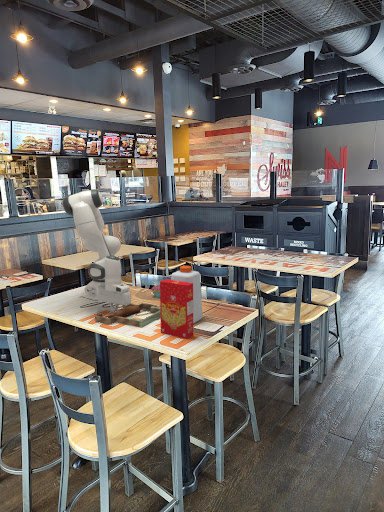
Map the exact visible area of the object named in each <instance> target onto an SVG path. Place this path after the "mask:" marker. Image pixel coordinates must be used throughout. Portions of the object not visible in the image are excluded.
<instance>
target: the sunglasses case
mask: <svg viewBox="0 0 384 512" xmlns="http://www.w3.org/2000/svg"><path fill="white" fill-rule="evenodd" d="M140 312H141V310H140V308H139V307H138V306H130V307H126V308H120V309H117V311H113V312H112V313H109V314H108V315H106V316H105V318H106V317H108V318H112V317H114V316H119V317H125V316H126V317H127V316H129V315H133V314H136V313H140Z"/></svg>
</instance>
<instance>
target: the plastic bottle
mask: <svg viewBox="0 0 384 512" xmlns="http://www.w3.org/2000/svg"><path fill="white" fill-rule="evenodd" d="M170 280H176V281H182V282H189V283H193V325H194V324H195V323H197V322H198V321H200V320H202V319H203V317H204V315H203V301H202V286H201V284H202V283H201V273H200V272H199V271H196V270H192V266H191V265H181V266H180V267H179V270H177V271H175V272H172V274H171V277H170Z"/></svg>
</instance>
